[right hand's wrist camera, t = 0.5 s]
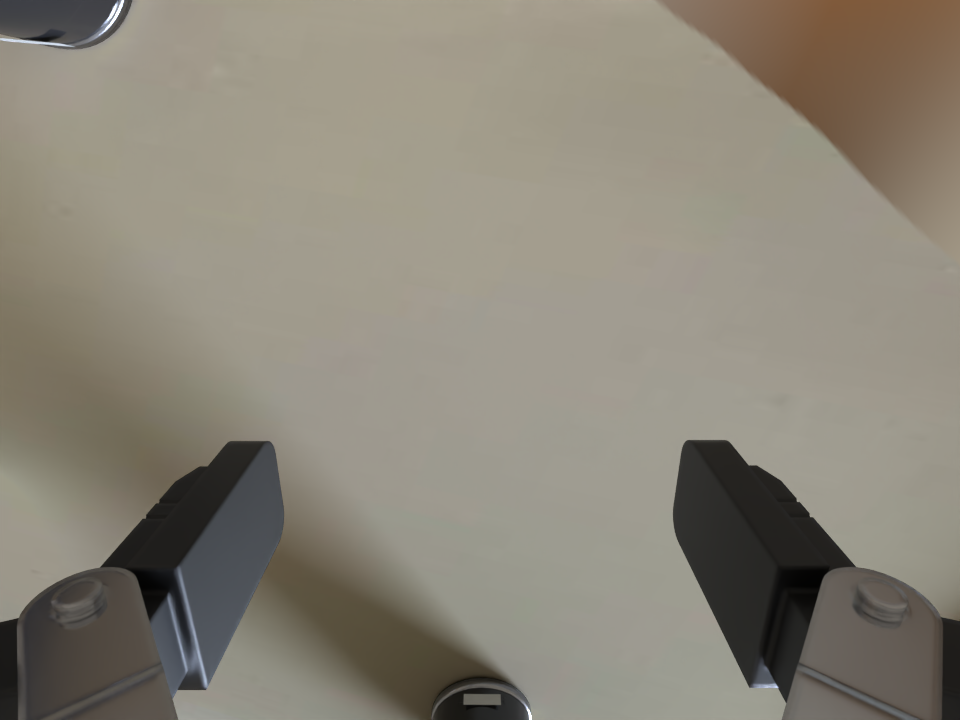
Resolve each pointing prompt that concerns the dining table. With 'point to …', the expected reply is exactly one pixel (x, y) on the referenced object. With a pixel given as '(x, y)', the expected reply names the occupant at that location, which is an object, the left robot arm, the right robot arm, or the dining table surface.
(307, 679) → the dining table surface
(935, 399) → the dining table surface
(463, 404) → the dining table surface
